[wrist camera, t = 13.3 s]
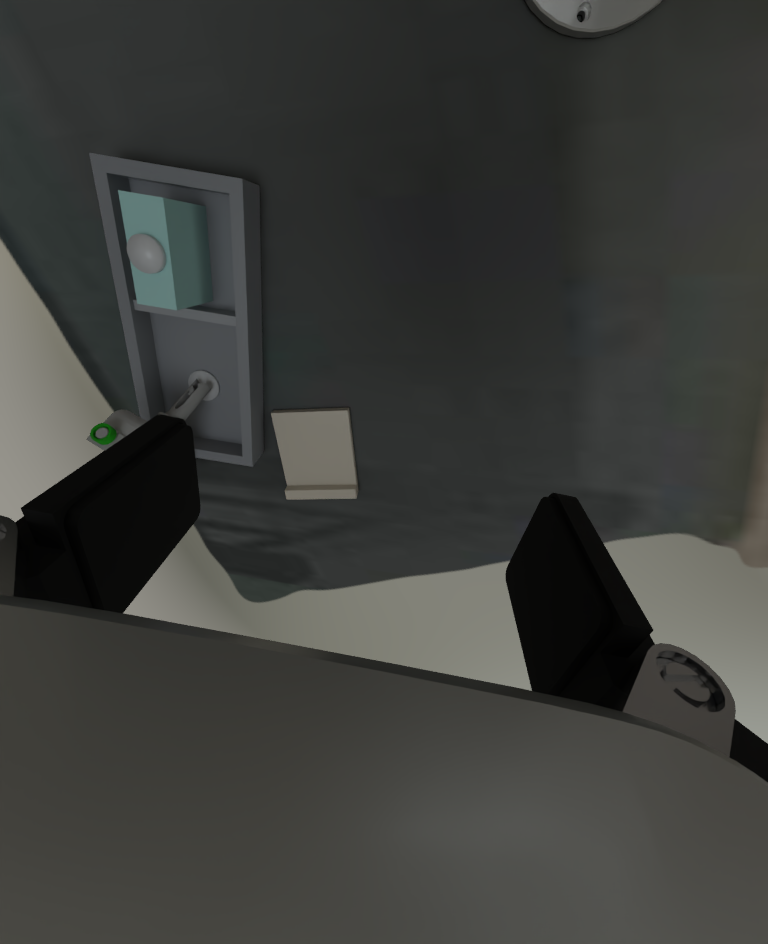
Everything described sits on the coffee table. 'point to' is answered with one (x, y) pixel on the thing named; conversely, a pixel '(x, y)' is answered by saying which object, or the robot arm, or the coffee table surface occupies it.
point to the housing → (189, 296)
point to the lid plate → (317, 453)
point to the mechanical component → (127, 422)
